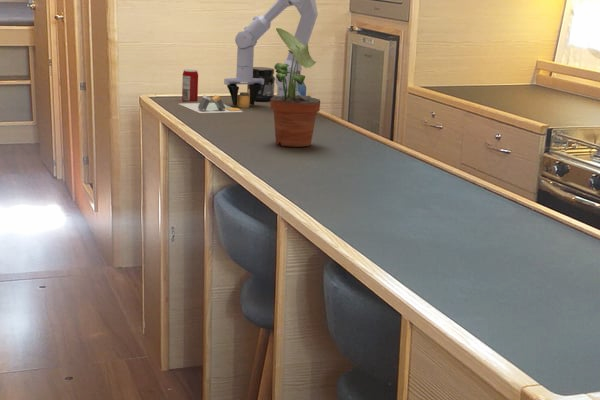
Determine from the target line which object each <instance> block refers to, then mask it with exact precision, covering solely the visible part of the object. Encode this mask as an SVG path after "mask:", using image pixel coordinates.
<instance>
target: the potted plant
mask: <svg viewBox="0 0 600 400" xmlns="http://www.w3.org/2000/svg"><path fill="white" fill-rule="evenodd" d="M275 29H276V32H277V34H278V36H279V37H280V39H281V40H282V41H283V43H284V44H285V45H286V47H287V48H288V50H287V51H288V53H289V52H290V53H291V54H294V55H295V57H296V59H297V61H298V62H299V63H300V65H301V67H302V68H305V69H308V68H310V69H311V68H312V67H313V66H314V65H315V64H316V62H317V61H315V60H314V59H313V58H312V56H311V55H310V51H309V43H308V44H307V45H305V46H304V44H302V43H301V42H300V41H299V40H298V39H297V38H295V37H294V36H295V35H293V34H291V33H290V32H289V31H287V30H285V29H282V28H279V27H278V28H275ZM290 50H292V51H290ZM297 61H296V64H297V71H298V62H297ZM293 62H294V56H293V61H292V66H291V71H290V72H288V71H287V67H288V66H289V65H288V64H284V63H282V62H277V63H275V65H274V68H273V69H274V70H275V72H276V75H275V79H276V78H277V79H278V81H279V82H282V80H283V90H284V96H277V95H275V96H274V97H271V100H270V101H269V102H270V109H271V110H272V111H273V121H274V123H273V124H274V135H275V143H276V144H277V146H278V145H280V146H282V147H284V146H285V147H296V148H299V147H308V146H311V145H312V140H313V134H314V129H315V124H316V119H317V114H318V113H319V112H320V109H321V99H320V98H315V97H312V96H311V95H306V96H304V95H295V90H296V81H297V83H298V84H301V85H302V83H303V82H304V81H305V78H306V76H305V75H303V74H301V75H297V71H296V76H295V75H294V73H295V68H296V64H295V67H294V71H293V75H292V69H293ZM287 73H290V78H289V86H288V95H287V81H286V78H285V77H286V76H287ZM291 78H292V81H291ZM284 80H285V83H284ZM293 80H294V83H293ZM285 84H286V89H285Z"/></svg>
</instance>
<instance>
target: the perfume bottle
mask: <svg viewBox="0 0 600 400" xmlns="http://www.w3.org/2000/svg"><path fill="white" fill-rule="evenodd" d="M298 92H299V93H300V94H301V95H304V96H307V86H306V84H305V82H304V81H303V83H302V85H301V84H298Z"/></svg>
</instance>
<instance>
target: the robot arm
mask: <svg viewBox="0 0 600 400" xmlns="http://www.w3.org/2000/svg"><path fill="white" fill-rule="evenodd" d="M293 6H294V7H295V8H296V9H297V11H298V13H299V15H300V18H299V22H298V25H297V27H296V31H295V33H294V35H293V36H294V37H295V38H297V39H298V40H299V41H300V42H301V43H302V44H304V46H305V45H307V44H308V45H309V41H310V38H311V35H312V32H313V30H314V27H315V23H316V20H317V19H318V18H317V17H318V13H319V12H318V7H317V2H316V0H276V1H275V3H273V4H272V5H271V7H270V8H269V9H268V10H267V11H266V12H265V14H262V15H261V14H260V15H257V16H254V17H253V18H252V21H251V22H250V23H249V25H248V26H244V27H243V30H242V31H238V33H237V34H236V35H235V38H234V42H235V44H236V46H237V50H236V51H237V53H236V54H237V55H236V76H235V77H232V78H231V77H230V78H224V80H223V82H224V83H223V85H225V86H226V87H227V90H228V91H229V93H230V97H231V101H232V105H233V106H236V107H237V96H238V94H239V89H240V87H239V86H238V85H247V84H249V88H250V105H251V106H254V105H255V102H256V101H255V99H256V96H257V94H258V92H259V90H260V89H261V85H260V84H264V79H262V78H253V67H254V58H255V57H254V56H255V55H254V54H255V53H254V50H255V46H256V45H257V44H258V40H259V39H260V38H261V37H262V36H264V35H265V33H266V32H268V31H269V30H270V28H271V24H272V23H271V22H272V21H274V20H275V19H276V18H277V17H278V16H279V15H280V14H281V13H283V12H284V11H285V10H286V9H287V8H288V7H293ZM289 50H290V49H289ZM290 51H292V50H290ZM293 56H294V62H293V69H292V75H293V71H294V67H295V64H296V61H297V59H296V57H295V55H294V54H291V53H290V52H289V51H288V54H287V57H286V60H285V61H284V63H283V64H288V65H289V66H288V67H287V71H288V72H290V71H291V66H292V61H293ZM297 62H298V61H297ZM302 70H303V66H302V65H300V63H299V62H298V71H297V64H296V68H295V73H294V75H295V76H296V71H297V75H302V74H301V73H302ZM285 78H286V81H287V95H288V86H289V78H290V73H287V76H286V77H285ZM291 81H292V78H291ZM247 82H250V83H247ZM284 83H285V80H284ZM293 83H294V80H293ZM275 84H276V86H277V90H276V91H277V93H276V96H284V90H283V80H282V82H279V81H278V79H277V78H276V77H275ZM285 89H286V84H285ZM295 95H301V94H300V93H299V92H298V83H297V81H296V90H295Z"/></svg>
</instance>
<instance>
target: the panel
mask: <svg viewBox="0 0 600 400" xmlns="http://www.w3.org/2000/svg"><path fill="white" fill-rule="evenodd" d="M199 104H200V102H194V103H193V102H192V103H191V102H184V103H179V106H182V107H185V108H187V109H190V110H191V111H194V112H196V113H199V114H216V113H217V114H218V113H219V114H220V113H244V111H243V110H242V109H240V108H239V107H232V106H230V105H227V104H225V103H223V104H224V106H225V111H221V110H218V108H217V106H216V104H215V103H214V102H209V104H208V106H207V108H206V111H201V110H199V109H198V106H199Z"/></svg>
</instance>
